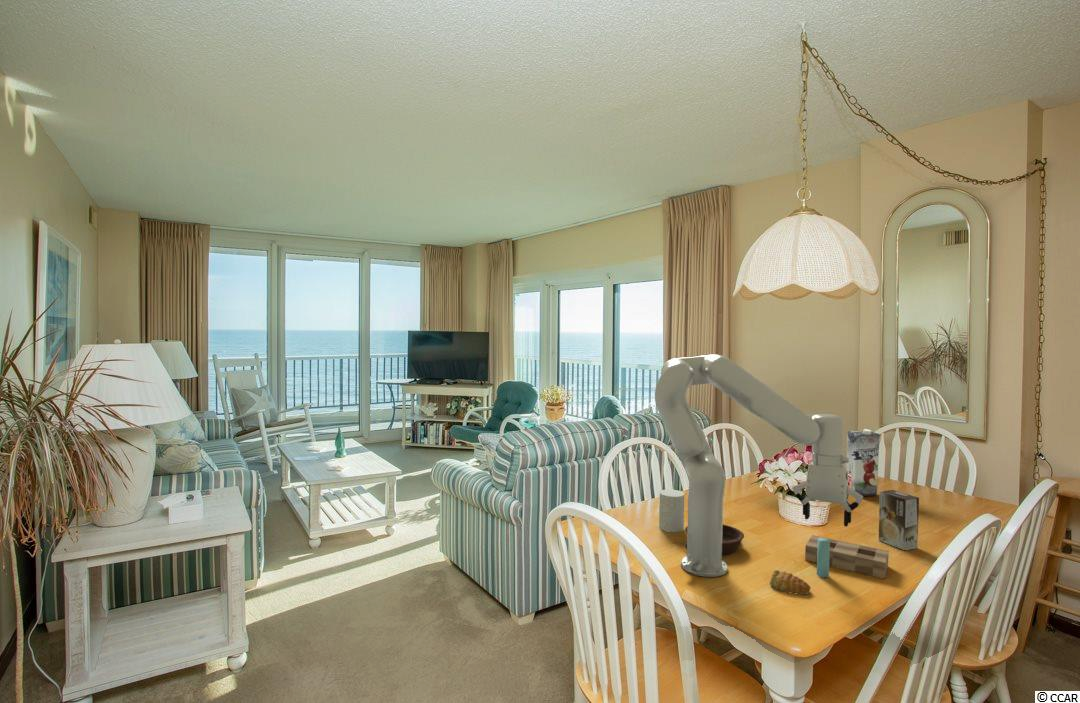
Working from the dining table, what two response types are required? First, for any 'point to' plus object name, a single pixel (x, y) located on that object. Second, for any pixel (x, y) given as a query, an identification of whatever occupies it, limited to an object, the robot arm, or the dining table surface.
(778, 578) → the pastry
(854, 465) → the juice carton
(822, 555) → the peg
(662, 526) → the grey cylinder
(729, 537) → the dish
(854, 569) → the hole block
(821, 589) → the dining table surface
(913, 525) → the coffee box
